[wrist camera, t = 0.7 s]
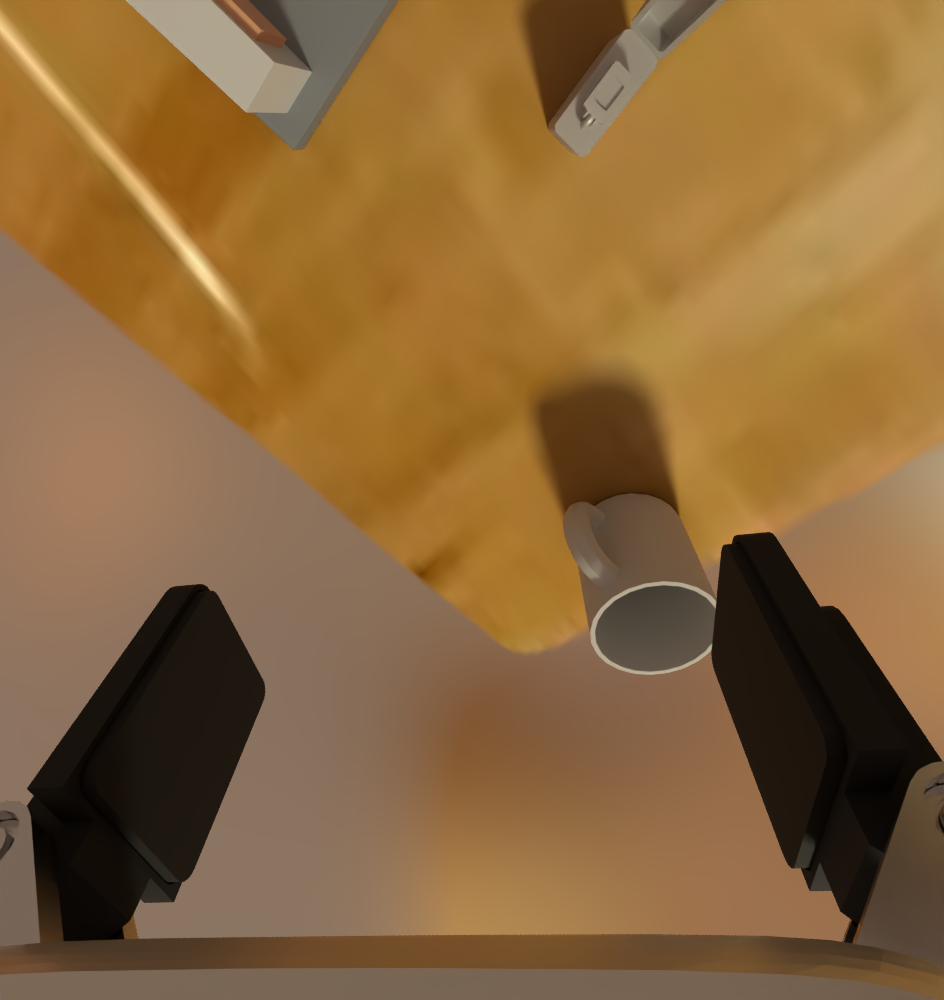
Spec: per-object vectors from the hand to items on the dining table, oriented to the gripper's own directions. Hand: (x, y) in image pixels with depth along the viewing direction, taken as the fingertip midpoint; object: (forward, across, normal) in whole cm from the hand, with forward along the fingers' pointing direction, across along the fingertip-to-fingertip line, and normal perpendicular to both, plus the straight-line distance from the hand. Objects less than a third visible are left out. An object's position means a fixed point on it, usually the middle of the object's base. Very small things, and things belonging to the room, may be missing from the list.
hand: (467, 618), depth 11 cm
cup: (+24, -6, +16) cm, 30 cm away
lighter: (+25, -7, -9) cm, 27 cm away
